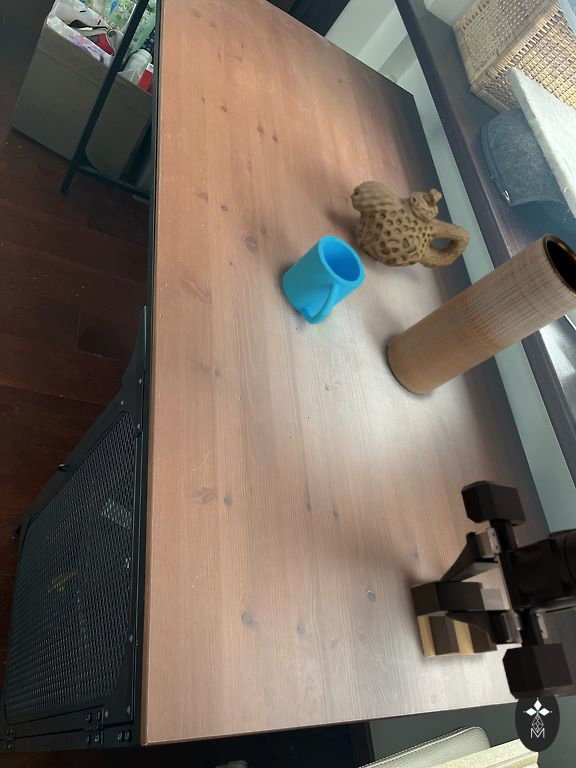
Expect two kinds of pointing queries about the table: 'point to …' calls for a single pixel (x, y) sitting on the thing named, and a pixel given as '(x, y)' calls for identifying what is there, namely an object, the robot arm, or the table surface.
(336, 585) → the table surface
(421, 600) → the knife
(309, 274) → the mug
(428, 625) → the rack
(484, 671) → the table surface
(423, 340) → the vase
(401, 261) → the teapot
